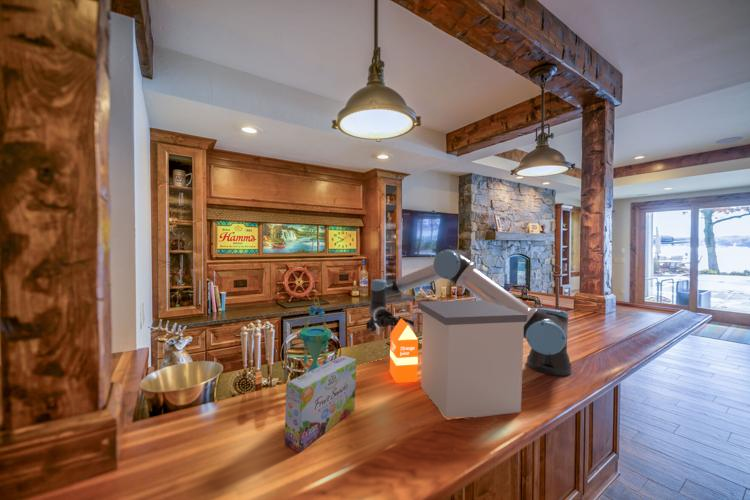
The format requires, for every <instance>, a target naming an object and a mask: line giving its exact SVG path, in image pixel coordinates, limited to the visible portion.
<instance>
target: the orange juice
mask: <svg viewBox="0 0 750 500" xmlns="http://www.w3.org/2000/svg"><path fill="white" fill-rule="evenodd" d="M389 338H390V339H389V340H390V347H389V348H390V349H389V373H390V375H391V377H392V379H393V380H394V382H395V383H396V384H399V383H400V384H401V383H411V382H413V383H414V382H418V364H419V363H418V362H419V361H418V360H419V359H418V358H419V357H418V356H419V354H418V353H419V339H418V337H417V336H416V334H415V332H414V330H413V331H412V330H411V328H410V327H409V325H408V324H407V323H406V322H405V321H404V320H403V319H400V320H399V322H398V323H397V325H396V326H394V328H393V329H392V330H391V332H390V337H389Z"/></svg>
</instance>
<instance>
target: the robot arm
mask: <svg viewBox="0 0 750 500" xmlns="http://www.w3.org/2000/svg"><path fill="white" fill-rule="evenodd" d="M475 263H476V262H475ZM475 263H474V261H472V259H471V256H470V255H469V254H468V252H466V251H465V250H461V249H449V248H448V249H444V250H441V251H440V252H438V253H437V254H436V255H435V257H434V259H433V264H430V265H428V266H426V267H423V268H420V269H418V270H415V271H413V272H411V273H408V274H405V275H403V276H401V277H397V278H395V279H393V280H390V281H387V280H386V279H381V278H380V279H377V278H376V279H373V280H372V281H371V284H370V285H371V286H370V305H369V308H368V312H369V314H370V316H371V317H370V319H369V320H368V321H367V322H366V330H370V332H374V333H376V335H378V336H380V333H381V331H380V330H381V328H387V327H389V326H392V327H395V326H396V325H397V323H398V322H399V320H400V319H403V320H404V321H405V322H406V323H407V324H408V325H409V327H410V328H411V330H412V331H413V332H414V327H415V322H414V320H410V319H407V318H404V317H402V316H397V317H395V316H393V314H392V312H391V311H389V310H388V308H387V298H389V297H393V296H398V295H400V294H402V293H405V292H407V291H409V290H413V289H415V288H418V287H420V286H423V285H426V284H429V283H432V282H434V281H437V280H438V281H439V280H441V279H444V280H449V281H450V282H451V283H452V284H453V285H455V286H456V287H460V286H461V287H464V288H465V289H467V290H468V291H469V292H471V293H472V294H473V295H475V296H476V297H477V298H479V300H486V301H488V302H491V303H494V304H497V305H500V306H503V307H506V308H509V309H512V310H515V311H518V312H521V313H524V314H527V322H524V334H523V339H525V340H526V343H527V344H528V345H529V347H530V348H531V349H530V350H529V353H528V355H527V358H526V365H527V366H528V367H529V368H531V369H533V370H535V371H537V372H539V373H543V374H546V373H548V374H547V375H551V374H553V375H552V376H568V375H569V376H570V375H571V374H572V371H573V369H572V367H573V365H572V364H571V362H570V361H571V360H570V357H569V354H568V349H567V348H568V329H569V328H568V326H569V314H568V312H567V311H565V310H561V309H556V308H546V307H530V306H529V305H528V304H526V303H524V301H522V300H521V299H520V298H518V297H516V296H515V295H513V294H512V293H510V292H509V291H507V290H506V289H505V288H503V287H502V286H501V285H499V284H498V283H496V282H495V281H493V280H492V279H491V278H489V277H488V276H486V275H485V274H484V273H482V272H481V271H480V270H478V269H477V268H476V264H475ZM380 327H381V328H380Z"/></svg>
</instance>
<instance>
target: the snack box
mask: <svg viewBox="0 0 750 500" xmlns="http://www.w3.org/2000/svg"><path fill="white" fill-rule="evenodd" d="M357 362H358V361H357V358H354V357H349V356H346V355H341V356H338V357H336V358H334V359H332V360H330V361H328V363H326V364H324V365H323V364H322V365H320V367H318V368H316V369H314V370H311V371H309V372H308V371H307V373H305V374H303V373H302V374H301V375H299V376H297V377H296V378H293V379H291V380H289V381H287V382H286V386H285V390H286V391H285V414H284V415H285V416H284V417H285V419H284V421H285V422H284V423H285V424H284V445H286V446H287V447H289V448H290V449H292V450H294V451H295V452H297V453H299V454H300V453H301V452H302V451H304V450H305V449H306V448H308V447H309V446H310V445H312V443H314V442H315V441H316V440H318V439H319V438H320V437H322V436H323V435H324V434H325V433H327V432H328V431H330V430H331V429H332V428H333V427H335V426H337V425H338V424H339V423H340V422H342V421H343V420H344V419H345V418H347V417H348V416H349V415H350V414H352V413H354V411H355V409H356V407H355V406H356V382H357V381H356V380H357V378H356V377H357Z"/></svg>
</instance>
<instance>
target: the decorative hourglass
mask: <svg viewBox="0 0 750 500" xmlns="http://www.w3.org/2000/svg"><path fill="white" fill-rule="evenodd" d="M315 299H317V302H315V301H313V303H314V304H313V305H311V306H309V310H308V314H309V318H308V319H307V320H306V322H305V324H304V327H303V329H300V331H299V335H298V336H299V339H300V340H301V341H303V342H302V344H303V346H302V348H303V349H304V350H302V352H303V355H304V356H302V359H303V360H302V363H303V364H305V365H304V367H303V373H302V375H303V374H305V373H307V372H309V371H311V370H314V369H316V368H318V367H320V366H321V365H320V363H319V362H318V359H319V357H320V355H321V353H322V352H323V353H324V354H322V355H321V356H322V357H323V359H322V360H323V361H322V362H321V363H322V365H324V364H326V363H328V362H329V361H328V357H329V355H327V353H328V352H329V349H328V348H329V345H328V344H329V341H328V340H330V339H331V338H332V333H333V332H332V330H331V329H330V328H328V326H327V325H328V324H327V323H326V322H325V321H324V315H325V311H324V307H323V306H320V305H321V304H320V301H319V297H317V296H315V297H314V298H313V300H315ZM316 312H317V317H321V318H322V319H321V320H322V321H323V324H322V326H312V327H309V325H310V323H311V322H310V319H311V316H313V315H316ZM308 353H309V354H308ZM308 355H310V356H311V358H312V363H311V364H310V366H309V367H307V366H306V365H307V364H308V363H309V360H308V359H309V356H308Z"/></svg>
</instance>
